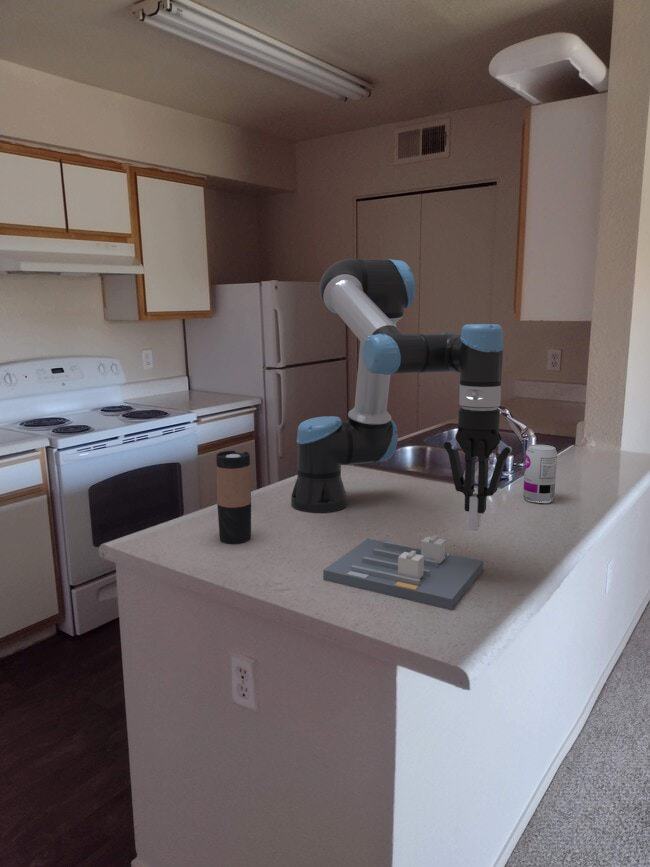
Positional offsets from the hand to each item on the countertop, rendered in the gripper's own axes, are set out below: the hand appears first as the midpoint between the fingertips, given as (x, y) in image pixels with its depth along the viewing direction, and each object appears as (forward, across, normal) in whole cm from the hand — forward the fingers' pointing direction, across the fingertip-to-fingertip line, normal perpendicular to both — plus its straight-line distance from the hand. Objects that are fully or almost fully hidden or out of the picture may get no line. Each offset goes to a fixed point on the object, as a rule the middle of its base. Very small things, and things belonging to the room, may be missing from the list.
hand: (474, 528), depth 125 cm
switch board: (+10, -12, -5) cm, 17 cm away
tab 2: (+8, -8, 0) cm, 12 cm away
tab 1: (+8, -9, -10) cm, 16 cm away
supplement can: (+10, 0, +60) cm, 61 cm away
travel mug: (+10, -54, -5) cm, 55 cm away
